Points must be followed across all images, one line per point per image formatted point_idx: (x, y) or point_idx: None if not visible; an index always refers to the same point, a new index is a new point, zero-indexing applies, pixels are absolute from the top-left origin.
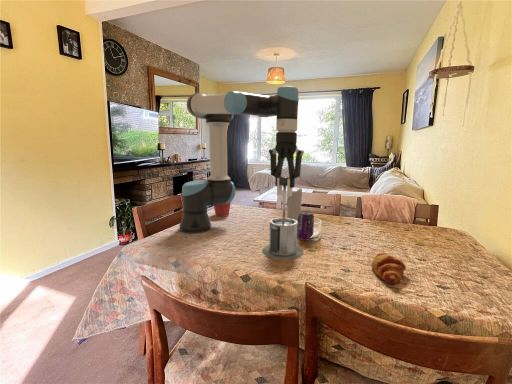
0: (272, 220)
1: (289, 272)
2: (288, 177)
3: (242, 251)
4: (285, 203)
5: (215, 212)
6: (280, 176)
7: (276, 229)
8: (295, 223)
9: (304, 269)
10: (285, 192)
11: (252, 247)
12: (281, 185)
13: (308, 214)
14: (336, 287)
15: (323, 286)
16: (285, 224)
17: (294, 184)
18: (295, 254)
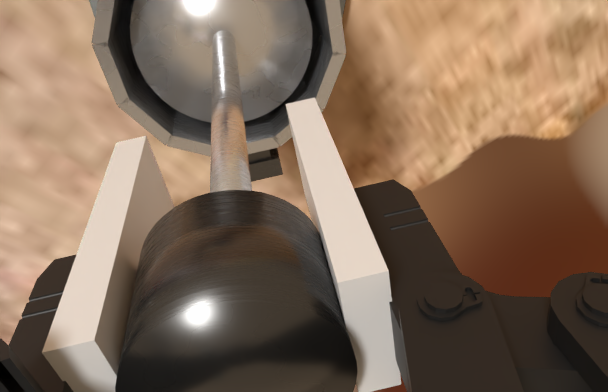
0: (123, 82)
1: (387, 135)
2: (308, 348)
3: (63, 142)
4: (240, 109)
5: None
6: (38, 386)
7: (281, 173)
8: (334, 17)
9: (423, 65)
10: (251, 190)
11: (35, 62)
12: (137, 245)
13: None
14: (582, 96)
15: (539, 125)
16: (239, 33)
17: (421, 211)
18: None
